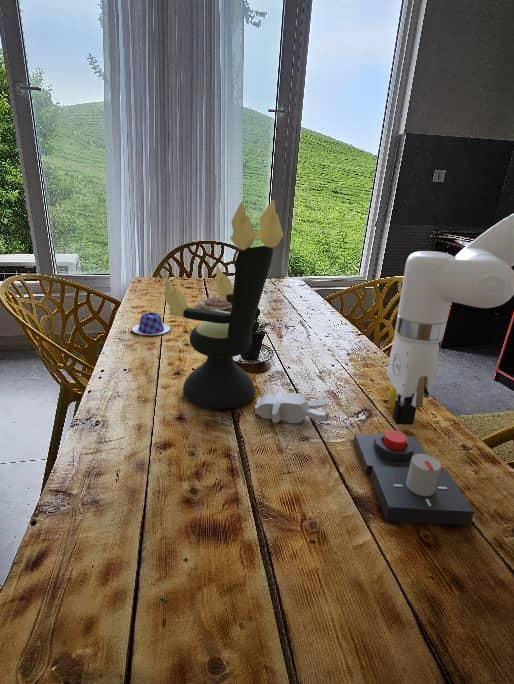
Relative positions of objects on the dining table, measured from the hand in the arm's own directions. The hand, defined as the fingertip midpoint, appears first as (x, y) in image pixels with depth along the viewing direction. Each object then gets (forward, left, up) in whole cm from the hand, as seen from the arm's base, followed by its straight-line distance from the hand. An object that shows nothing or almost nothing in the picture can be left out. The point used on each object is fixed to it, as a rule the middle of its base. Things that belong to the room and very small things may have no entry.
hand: (402, 422), depth 81 cm
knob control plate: (0, +11, -9) cm, 14 cm away
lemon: (-6, -18, -9) cm, 21 cm away
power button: (+1, 0, -5) cm, 5 cm away
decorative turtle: (+40, -85, -9) cm, 94 cm away
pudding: (+59, -61, -9) cm, 85 cm away
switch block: (+1, 0, -9) cm, 9 cm away
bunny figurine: (+19, -13, -9) cm, 24 cm away
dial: (0, +11, -5) cm, 12 cm away
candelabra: (+33, -21, -9) cm, 40 cm away
